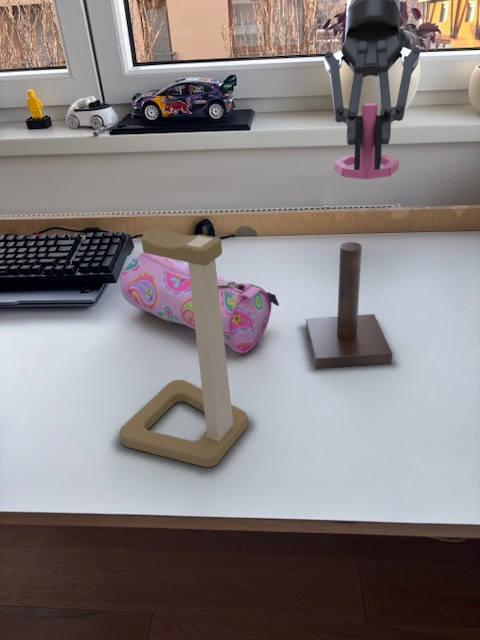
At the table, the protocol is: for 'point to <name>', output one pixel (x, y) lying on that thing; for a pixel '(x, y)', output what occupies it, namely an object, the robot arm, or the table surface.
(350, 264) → the stand
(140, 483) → the table surface
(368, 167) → the pink ring with handle
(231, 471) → the table surface
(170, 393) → the headphone stand
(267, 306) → the pencil case
